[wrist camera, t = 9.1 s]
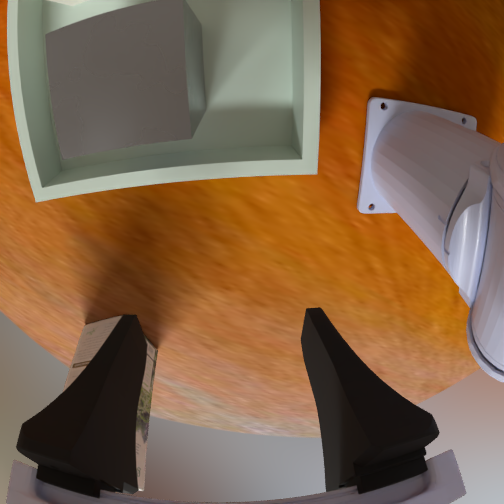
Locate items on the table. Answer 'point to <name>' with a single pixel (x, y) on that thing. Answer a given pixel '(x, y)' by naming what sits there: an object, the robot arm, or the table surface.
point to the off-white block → (69, 2)
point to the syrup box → (87, 349)
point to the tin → (127, 78)
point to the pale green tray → (216, 91)
